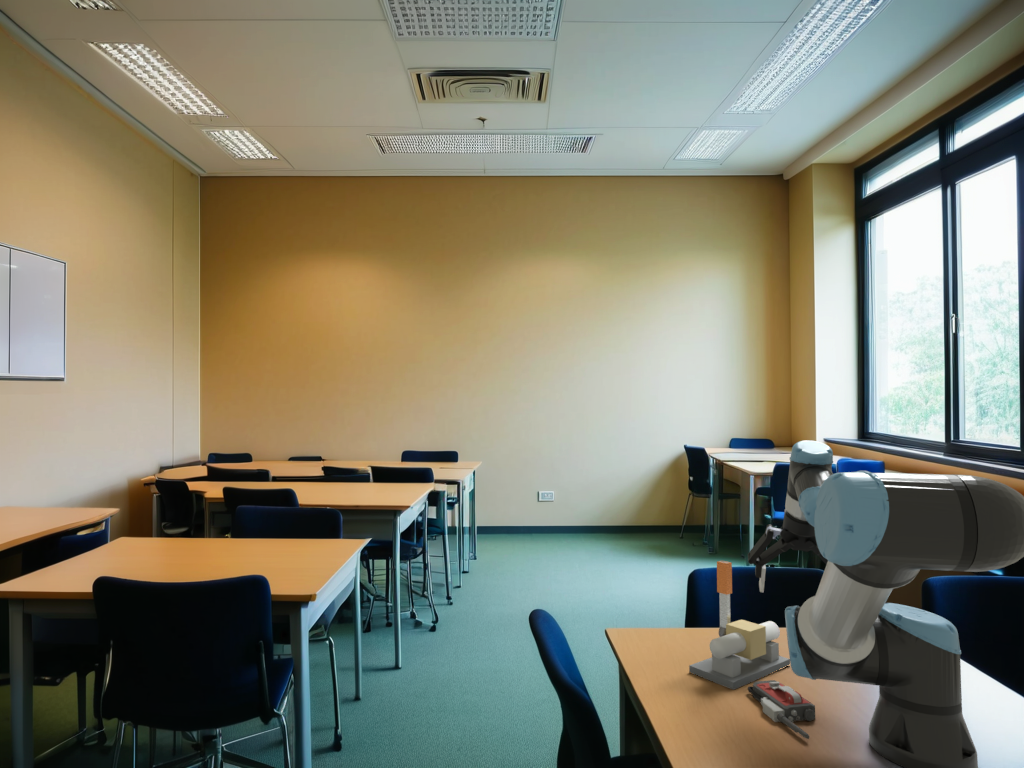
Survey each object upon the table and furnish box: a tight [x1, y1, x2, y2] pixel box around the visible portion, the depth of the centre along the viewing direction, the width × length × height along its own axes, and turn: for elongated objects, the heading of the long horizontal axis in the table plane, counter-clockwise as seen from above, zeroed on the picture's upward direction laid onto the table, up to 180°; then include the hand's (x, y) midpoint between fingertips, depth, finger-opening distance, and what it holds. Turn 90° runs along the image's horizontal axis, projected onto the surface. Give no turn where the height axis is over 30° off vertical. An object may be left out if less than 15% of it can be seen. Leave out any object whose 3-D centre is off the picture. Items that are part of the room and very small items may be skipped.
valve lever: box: [716, 560, 733, 637], centre depth 141 cm, size 3×3×17 cm
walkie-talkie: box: [747, 679, 816, 740], centre depth 116 cm, size 9×4×20 cm
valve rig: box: [688, 619, 791, 690], centre depth 138 cm, size 22×11×10 cm, turn 126°
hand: (794, 592), depth 135 cm, fingers open, 13 cm apart
